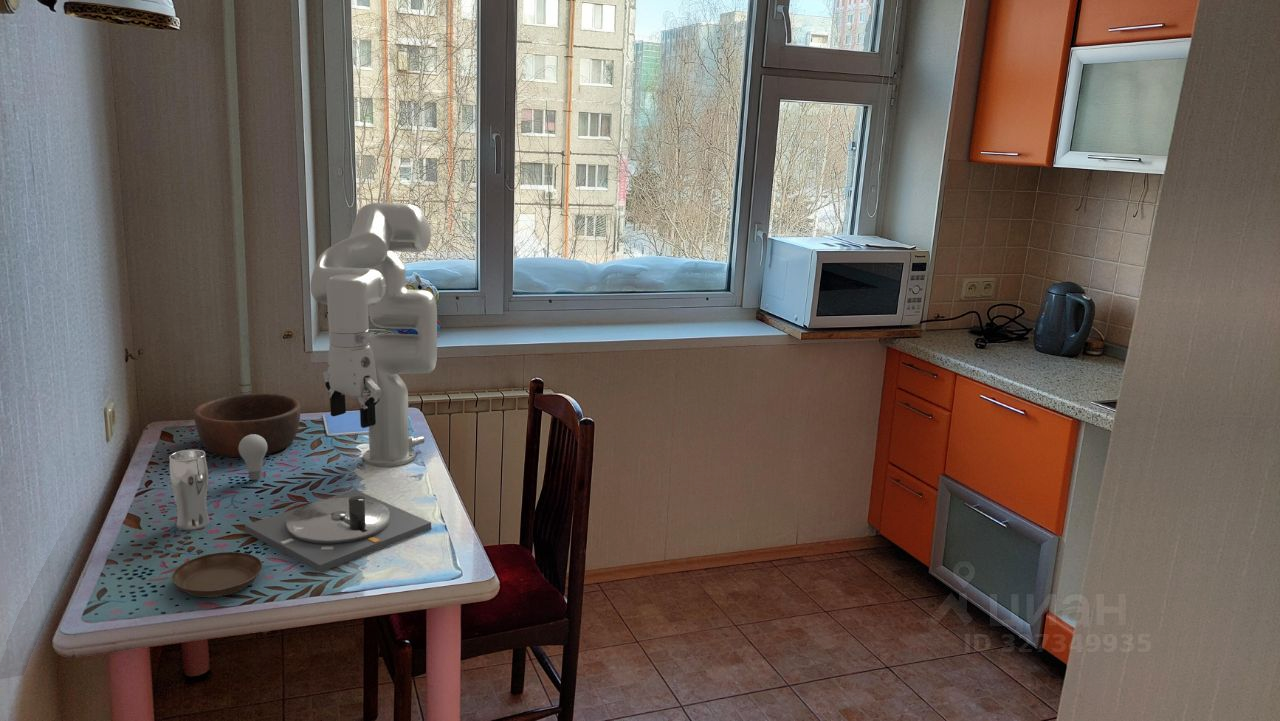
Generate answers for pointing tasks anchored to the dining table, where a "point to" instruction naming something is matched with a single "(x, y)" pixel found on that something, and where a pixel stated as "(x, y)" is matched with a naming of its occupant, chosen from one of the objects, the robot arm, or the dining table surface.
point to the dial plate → (338, 553)
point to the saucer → (217, 573)
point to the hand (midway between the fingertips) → (353, 420)
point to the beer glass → (190, 488)
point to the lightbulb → (253, 454)
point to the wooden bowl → (247, 422)
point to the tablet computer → (344, 424)
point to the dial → (338, 520)
